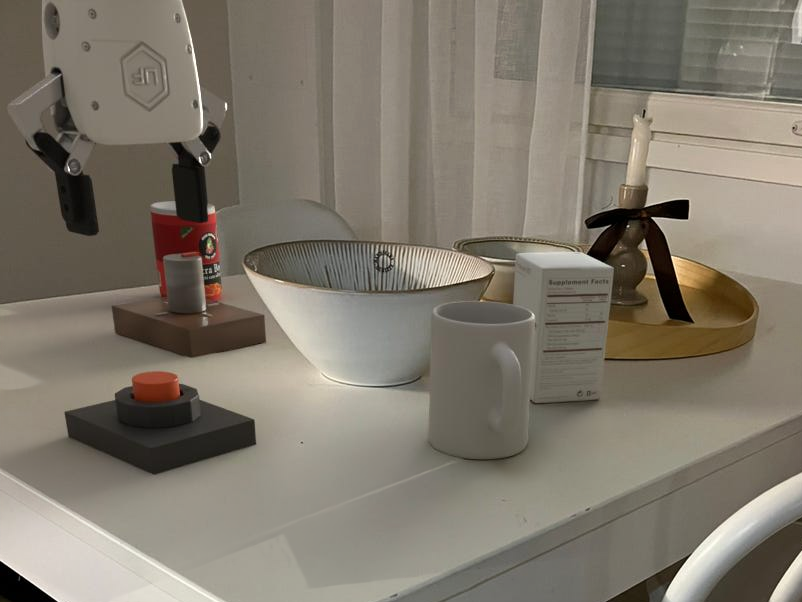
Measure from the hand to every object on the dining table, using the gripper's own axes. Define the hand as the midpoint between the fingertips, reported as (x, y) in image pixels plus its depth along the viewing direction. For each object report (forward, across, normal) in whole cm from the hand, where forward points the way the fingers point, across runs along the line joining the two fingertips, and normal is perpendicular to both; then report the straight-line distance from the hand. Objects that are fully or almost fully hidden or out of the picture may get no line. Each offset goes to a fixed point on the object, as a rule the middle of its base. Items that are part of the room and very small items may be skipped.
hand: (140, 226), depth 78 cm
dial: (+13, +22, +25) cm, 36 cm away
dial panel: (+16, +22, +25) cm, 37 cm away
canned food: (+17, +34, +41) cm, 56 cm away
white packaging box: (+17, +35, -15) cm, 42 cm away
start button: (+13, -1, 0) cm, 13 cm away
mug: (+17, +17, -21) cm, 32 cm away
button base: (+17, -1, 0) cm, 17 cm away
